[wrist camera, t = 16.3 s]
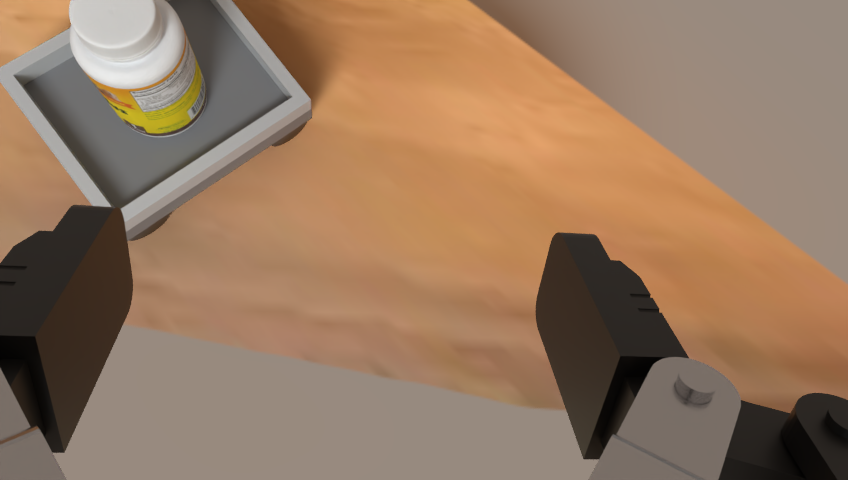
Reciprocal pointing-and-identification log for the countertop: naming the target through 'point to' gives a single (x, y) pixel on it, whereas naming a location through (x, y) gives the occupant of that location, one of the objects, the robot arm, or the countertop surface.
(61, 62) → the square grey tray
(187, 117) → the supplement bottle
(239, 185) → the countertop surface
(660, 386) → the robot arm
